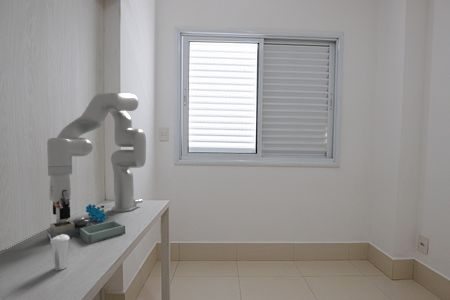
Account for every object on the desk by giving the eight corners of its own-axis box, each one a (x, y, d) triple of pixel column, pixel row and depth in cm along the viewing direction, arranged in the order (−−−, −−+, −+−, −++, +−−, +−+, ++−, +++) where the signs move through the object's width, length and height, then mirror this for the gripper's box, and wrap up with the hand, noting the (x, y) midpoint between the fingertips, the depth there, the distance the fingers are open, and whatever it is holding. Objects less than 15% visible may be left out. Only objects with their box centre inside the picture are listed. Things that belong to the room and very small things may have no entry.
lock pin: (67, 226, 96) (66, 200, 96) (70, 228, 93) (69, 202, 93) (54, 229, 93) (53, 202, 92) (57, 231, 90) (56, 204, 89)
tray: (114, 227, 103) (114, 220, 102) (125, 233, 96) (125, 225, 96) (79, 236, 93) (79, 228, 93) (89, 243, 86) (88, 235, 86)
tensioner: (88, 227, 103) (87, 214, 103) (94, 232, 97) (94, 218, 97) (47, 237, 93) (46, 222, 93) (52, 242, 87) (52, 227, 87)
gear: (97, 221, 105) (83, 204, 107) (88, 231, 106) (73, 214, 107) (112, 217, 116) (99, 201, 118) (103, 226, 116) (90, 210, 118)
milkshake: (54, 264, 72) (53, 230, 71) (73, 263, 72) (72, 229, 72) (44, 272, 67) (43, 236, 67) (64, 271, 68) (63, 235, 67)
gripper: (43, 170, 95) (44, 214, 96) (54, 173, 83) (55, 223, 84) (65, 168, 101) (66, 210, 101) (78, 171, 89) (79, 218, 89)
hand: (61, 216), depth 92 cm, fingers open, 9 cm apart
